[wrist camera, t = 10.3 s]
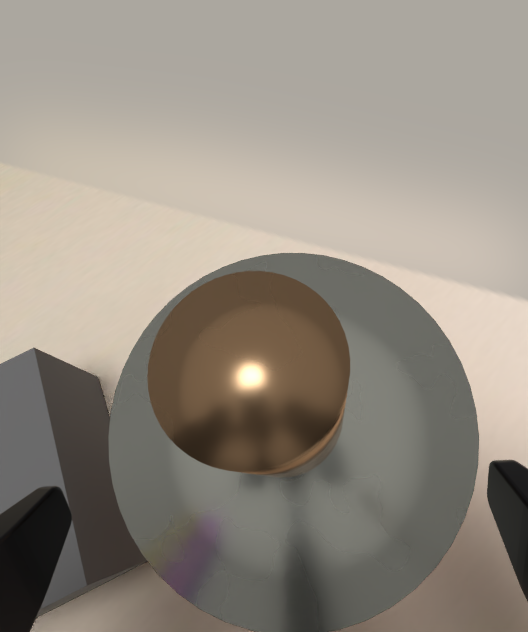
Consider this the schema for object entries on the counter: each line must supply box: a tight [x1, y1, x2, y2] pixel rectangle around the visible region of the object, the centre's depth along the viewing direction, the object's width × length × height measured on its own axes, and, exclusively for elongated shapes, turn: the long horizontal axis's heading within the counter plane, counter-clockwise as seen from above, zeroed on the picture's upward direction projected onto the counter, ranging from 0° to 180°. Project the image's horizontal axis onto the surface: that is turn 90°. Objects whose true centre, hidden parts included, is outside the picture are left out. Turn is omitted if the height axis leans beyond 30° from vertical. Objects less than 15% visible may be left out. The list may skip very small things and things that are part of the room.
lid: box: [108, 253, 479, 632], centre depth 11 cm, size 12×12×7 cm
